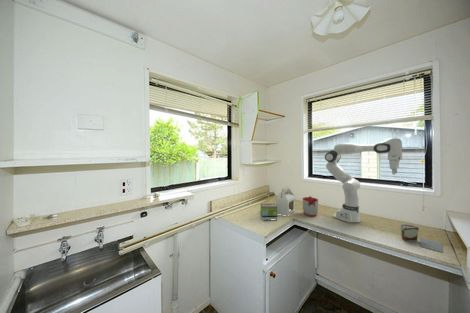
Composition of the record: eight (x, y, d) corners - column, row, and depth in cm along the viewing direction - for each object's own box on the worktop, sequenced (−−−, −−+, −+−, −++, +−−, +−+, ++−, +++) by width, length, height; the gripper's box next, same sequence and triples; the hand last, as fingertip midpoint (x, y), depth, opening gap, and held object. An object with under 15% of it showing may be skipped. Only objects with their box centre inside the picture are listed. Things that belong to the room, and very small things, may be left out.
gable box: (287, 217, 176) (287, 190, 175) (275, 214, 184) (275, 188, 183) (294, 210, 194) (294, 186, 193) (283, 208, 202) (283, 185, 201)
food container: (410, 236, 133) (410, 223, 132) (419, 240, 127) (419, 227, 126) (395, 237, 132) (395, 224, 132) (403, 241, 126) (403, 228, 126)
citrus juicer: (303, 217, 174) (303, 198, 173) (301, 211, 191) (301, 194, 190) (320, 218, 170) (320, 199, 169) (316, 212, 187) (316, 194, 186)
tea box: (262, 221, 167) (262, 206, 166) (260, 217, 177) (260, 203, 177) (277, 220, 167) (277, 206, 167) (274, 216, 177) (274, 202, 177)
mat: (419, 246, 119) (419, 245, 119) (420, 238, 129) (420, 237, 129) (442, 252, 111) (442, 252, 111) (441, 243, 122) (441, 243, 122)
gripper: (391, 156, 151) (391, 172, 151) (387, 157, 137) (387, 174, 138) (401, 156, 146) (401, 172, 147) (398, 158, 133) (398, 175, 133)
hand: (394, 173), depth 142 cm, fingers open, 8 cm apart
